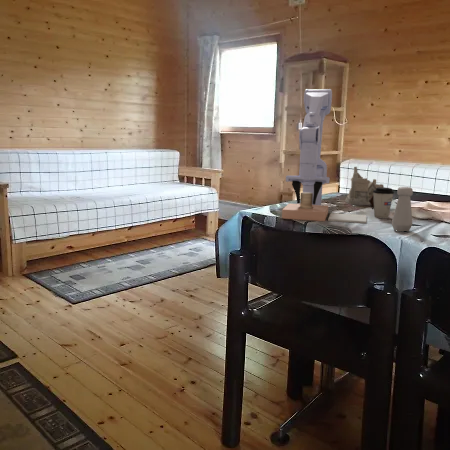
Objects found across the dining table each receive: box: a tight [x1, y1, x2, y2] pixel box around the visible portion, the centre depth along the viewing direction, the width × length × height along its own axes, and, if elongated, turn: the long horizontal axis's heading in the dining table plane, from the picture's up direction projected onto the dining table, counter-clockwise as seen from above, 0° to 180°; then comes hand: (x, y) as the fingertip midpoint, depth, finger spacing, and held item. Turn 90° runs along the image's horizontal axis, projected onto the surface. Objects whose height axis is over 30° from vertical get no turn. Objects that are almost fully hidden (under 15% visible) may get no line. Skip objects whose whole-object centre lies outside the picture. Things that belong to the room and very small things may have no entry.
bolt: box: [369, 195, 374, 208], centre depth 175 cm, size 6×5×15 cm
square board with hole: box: [281, 203, 329, 222], centre depth 159 cm, size 14×14×3 cm
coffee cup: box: [373, 187, 395, 219], centre depth 159 cm, size 7×7×10 cm
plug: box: [299, 191, 313, 209], centre depth 159 cm, size 4×4×8 cm
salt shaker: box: [391, 186, 414, 232], centre depth 137 cm, size 6×6×13 cm
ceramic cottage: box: [344, 166, 384, 206], centre depth 192 cm, size 16×16×15 cm
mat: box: [327, 212, 367, 224], centre depth 155 cm, size 12×12×1 cm
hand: (306, 203), depth 158 cm, fingers open, 5 cm apart
